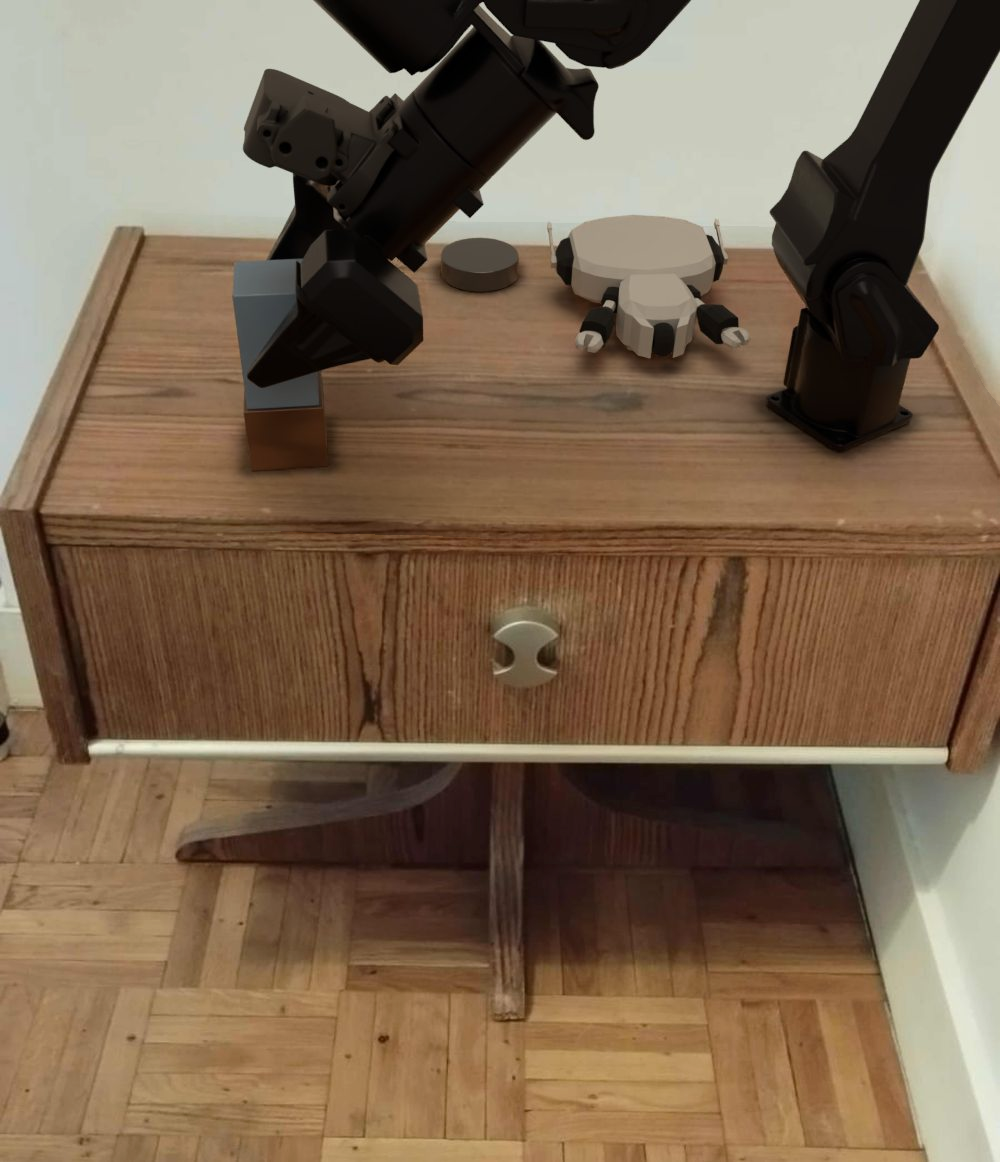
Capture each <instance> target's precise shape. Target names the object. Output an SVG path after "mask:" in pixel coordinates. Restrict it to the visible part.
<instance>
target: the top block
mask: <svg viewBox="0 0 1000 1162" xmlns="http://www.w3.org/2000/svg"><path fill="white" fill-rule="evenodd" d="M302 260H303V259H285V260H266V259H264V260H245V261H244V260H243V261H240V260H239V261H234V263H233V276H232V277H233V279H232V296H231V298H232V304H233V305H232V306H233V312H234V319H235V328H236V335H237V343H238V352H239V358H240V365H241V373H242V380H243V381H242V382H243V389H245V397H246V405H247V409H264V408H282V407H299V406H317V405H319V384H318V372H315V373H311V374H308V375H305V376H301V377H298V378H295V379H292V380H288V381H285V382H282V383H278V384H275V385H272V386H268V387H265V388H260V387H258V386H256V385H255V384H254V383H252V382H251V381H250V380H248V378H247V372H248V370H249V368H250V367H251V365H252V364H253V362H254V361H255V359H256V358H257V356H258V355H259V353H260V352H261V350H262V349H263V347H264V346H265V345H266V343H267V342H268V340H269V339H270V338H271V336H272V335H273V333H274V332H275V331H276V329H277V328H278V326H279V325H280V324H281V322H282V321H283V319H284V318H285V317H286V315H287V314H288V312H289V311H290V310H291V308H292V307H293V305H294V304H295V302H296V293H295V262H296V261H298V262H299V263H300V264H301V262H302Z"/></svg>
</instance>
